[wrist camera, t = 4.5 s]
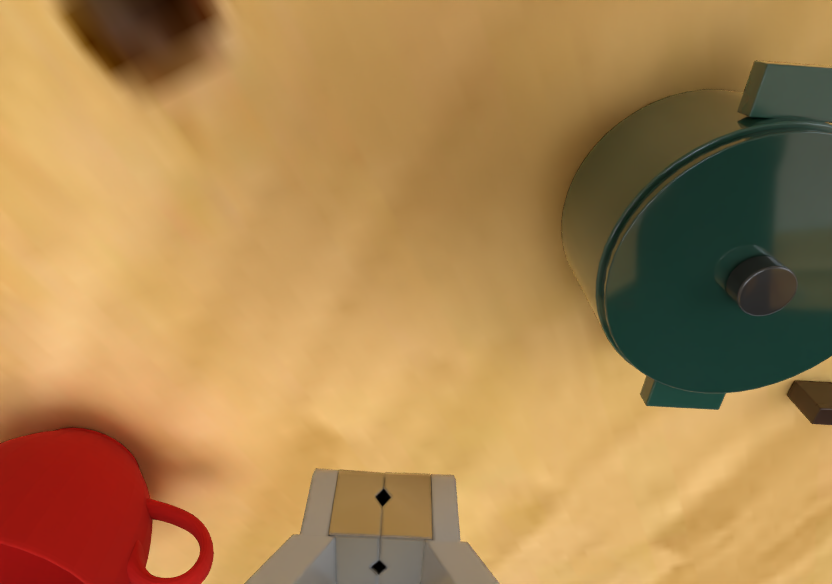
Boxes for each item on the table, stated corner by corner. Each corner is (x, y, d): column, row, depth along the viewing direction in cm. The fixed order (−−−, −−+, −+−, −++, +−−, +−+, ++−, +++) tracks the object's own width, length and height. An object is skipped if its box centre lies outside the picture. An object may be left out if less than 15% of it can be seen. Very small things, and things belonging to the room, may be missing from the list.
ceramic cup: (258, 528, 40) (214, 680, 31) (25, 526, 40) (-83, 679, 31) (229, 389, 34) (163, 532, 25) (-48, 387, 34) (-210, 530, 25)
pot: (598, 38, 24) (672, 63, 17) (868, 57, 24) (1050, 90, 17) (536, 333, 31) (569, 434, 24) (742, 345, 32) (833, 448, 25)
